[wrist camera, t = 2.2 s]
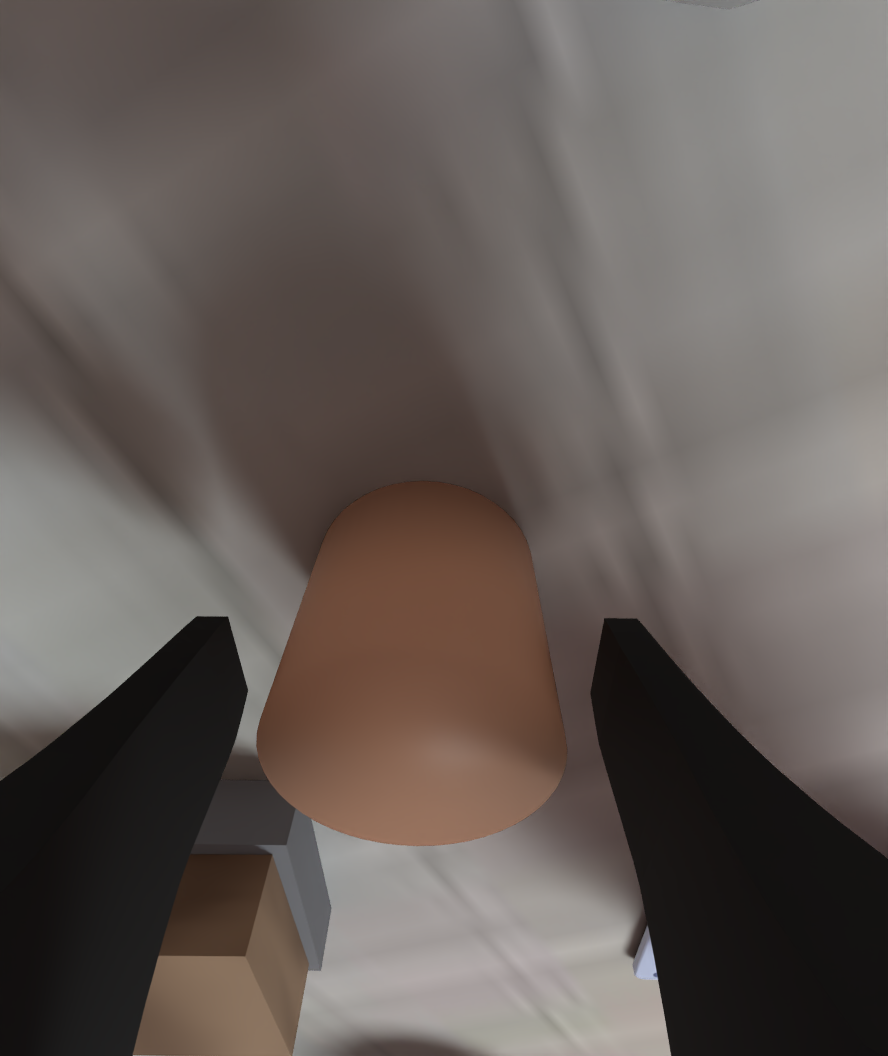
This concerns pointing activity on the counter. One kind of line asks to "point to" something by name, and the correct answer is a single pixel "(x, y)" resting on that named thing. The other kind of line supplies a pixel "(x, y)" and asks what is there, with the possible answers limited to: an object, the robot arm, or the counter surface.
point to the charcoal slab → (272, 851)
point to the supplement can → (717, 3)
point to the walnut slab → (226, 964)
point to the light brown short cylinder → (417, 675)
